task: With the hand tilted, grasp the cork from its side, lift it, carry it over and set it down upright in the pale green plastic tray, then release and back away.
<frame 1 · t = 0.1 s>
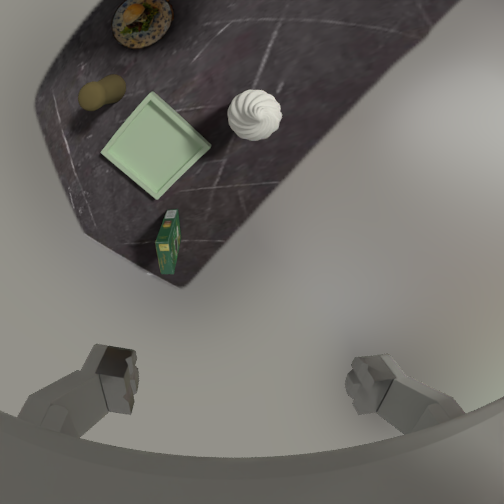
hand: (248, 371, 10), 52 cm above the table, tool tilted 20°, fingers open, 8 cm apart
tray: (155, 145, 55), on the table
coffee box: (174, 222, 66), on the table
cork: (112, 88, 46), on the table
soft serve ice cream cone: (249, 103, 51), on the table
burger: (143, 20, 39), on the table
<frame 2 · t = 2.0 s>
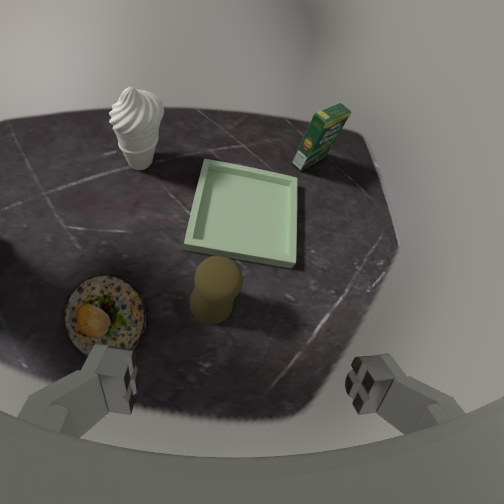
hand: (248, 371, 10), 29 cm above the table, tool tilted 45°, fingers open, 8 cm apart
tray: (244, 213, 47), on the table
coffee box: (307, 161, 56), on the table
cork: (211, 303, 40), on the table
soft serve ice cream cone: (140, 162, 48), on the table
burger: (105, 319, 36), on the table
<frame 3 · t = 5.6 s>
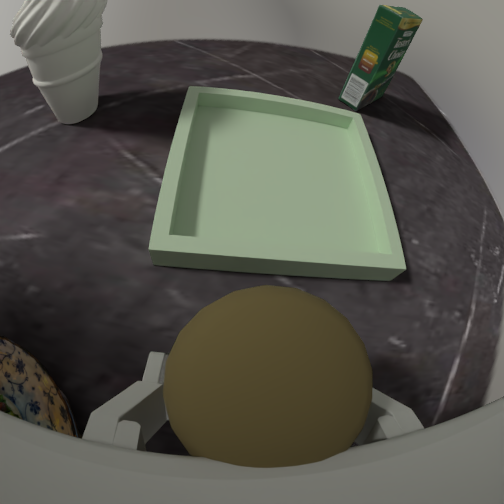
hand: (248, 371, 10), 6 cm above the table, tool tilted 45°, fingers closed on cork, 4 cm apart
tray: (278, 176, 22), on the table
coffee box: (360, 99, 31), on the table
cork: (231, 389, 15), on the table, touching gripper
soft serve ice cream cone: (78, 112, 23), on the table
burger: (12, 427, 11), on the table
when the fingers open (8 cm above the table, at t = 10.3 s): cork stays where it is, resting on tray.
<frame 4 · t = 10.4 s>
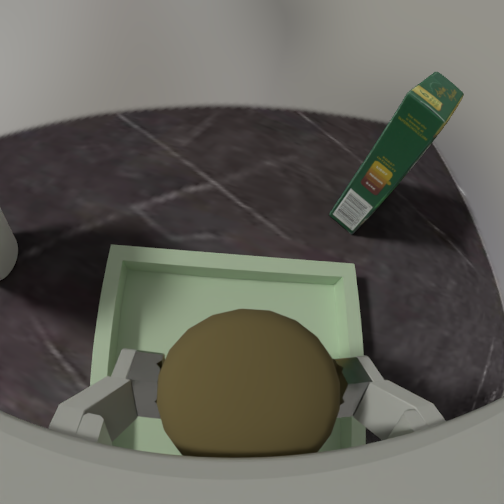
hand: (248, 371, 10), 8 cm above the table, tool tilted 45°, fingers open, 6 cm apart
tray: (229, 388, 17), on the table
coffee box: (360, 204, 25), on the table
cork: (227, 389, 16), resting on tray
soft serve ice cream cone: (0, 258, 17), on the table
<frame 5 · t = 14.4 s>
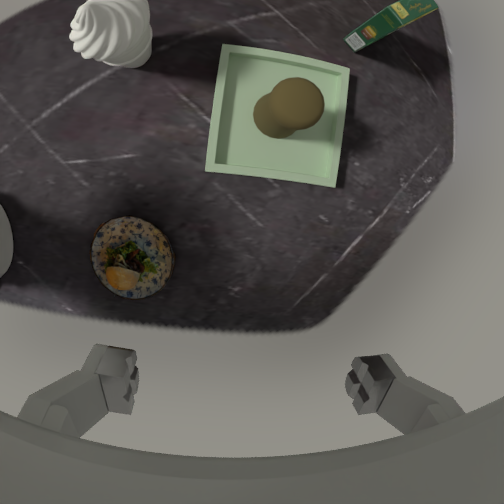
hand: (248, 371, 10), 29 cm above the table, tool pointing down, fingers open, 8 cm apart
tray: (278, 115, 34), on the table
coffee box: (364, 37, 31), on the table
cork: (277, 115, 34), resting on tray
soft serve ice cream cone: (136, 54, 30), on the table
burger: (132, 255, 38), on the table
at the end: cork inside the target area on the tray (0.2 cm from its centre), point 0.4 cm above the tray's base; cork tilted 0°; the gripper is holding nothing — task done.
